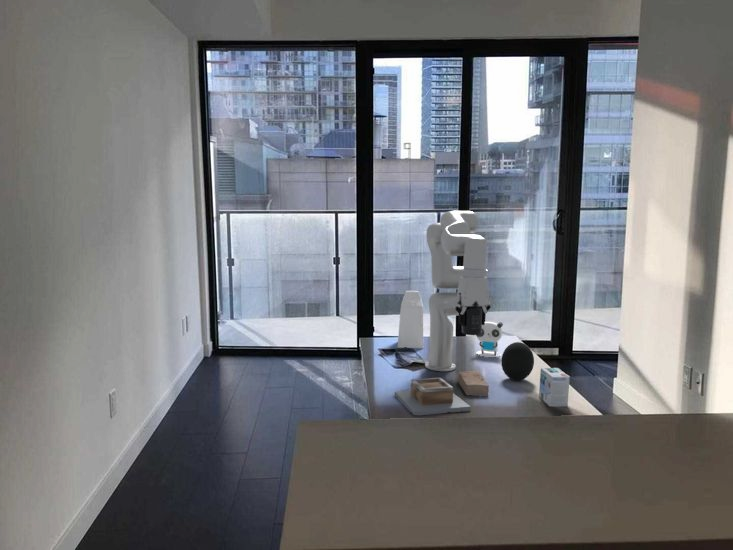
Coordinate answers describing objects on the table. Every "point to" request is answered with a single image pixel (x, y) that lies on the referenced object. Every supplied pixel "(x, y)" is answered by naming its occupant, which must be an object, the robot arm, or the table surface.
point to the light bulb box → (554, 387)
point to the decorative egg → (517, 361)
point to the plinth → (431, 391)
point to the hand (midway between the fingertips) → (471, 324)
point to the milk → (411, 321)
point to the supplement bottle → (473, 320)
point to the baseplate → (420, 409)
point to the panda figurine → (489, 339)
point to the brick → (473, 383)
